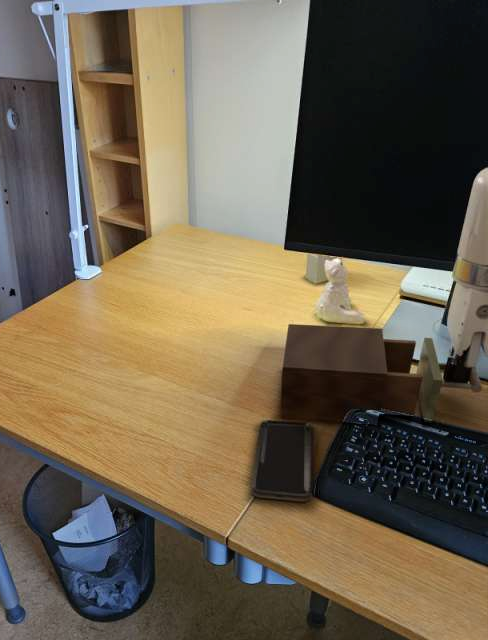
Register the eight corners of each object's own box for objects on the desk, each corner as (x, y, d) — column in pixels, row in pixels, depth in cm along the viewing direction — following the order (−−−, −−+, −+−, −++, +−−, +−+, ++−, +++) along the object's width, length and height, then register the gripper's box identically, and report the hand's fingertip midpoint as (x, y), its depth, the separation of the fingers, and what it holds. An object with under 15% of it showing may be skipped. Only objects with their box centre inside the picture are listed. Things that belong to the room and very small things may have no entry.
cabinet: (374, 378, 94) (382, 328, 88) (377, 426, 84) (387, 373, 78) (286, 372, 97) (288, 323, 91) (279, 418, 87) (282, 366, 81)
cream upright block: (340, 276, 125) (344, 232, 119) (315, 283, 123) (319, 239, 117) (329, 270, 128) (333, 227, 122) (305, 278, 125) (308, 234, 119)
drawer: (463, 381, 90) (475, 340, 85) (477, 427, 81) (491, 383, 76) (337, 373, 94) (342, 333, 89) (337, 415, 85) (342, 373, 80)
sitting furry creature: (366, 325, 107) (375, 266, 100) (323, 331, 107) (328, 272, 99) (347, 303, 115) (354, 247, 108) (307, 308, 114) (311, 252, 107)
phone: (313, 423, 83) (311, 497, 72) (312, 429, 84) (310, 503, 72) (260, 419, 85) (250, 491, 73) (260, 425, 86) (250, 497, 74)
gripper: (532, 295, 66) (492, 415, 77) (503, 246, 78) (472, 357, 89) (464, 293, 68) (434, 411, 79) (446, 245, 79) (422, 354, 90)
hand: (454, 382), depth 84 cm, fingers closed
